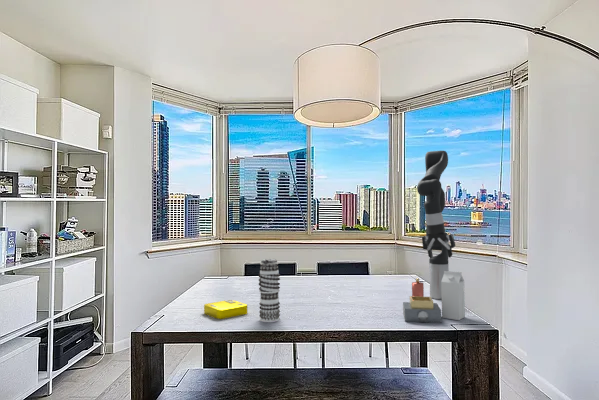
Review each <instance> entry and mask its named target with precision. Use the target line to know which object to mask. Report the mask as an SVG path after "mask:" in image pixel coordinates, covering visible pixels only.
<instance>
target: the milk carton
mask: <svg viewBox="0 0 599 400" xmlns="http://www.w3.org/2000/svg"><path fill="white" fill-rule="evenodd" d="M441 291H442V299H441V319H442V318H443V319H448V320H453V321H454V320H456V321H460V320H462V319H463V318H465V317H466V314H465V313H466V311H465V310H466V309H465V305H466V303H465V280H464V278H463V275H462V272H460V271H450V270H449V271H444V275H443V278H442V281H441Z"/></svg>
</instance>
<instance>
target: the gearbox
mask: <svg viewBox="0 0 599 400" xmlns="http://www.w3.org/2000/svg"><path fill="white" fill-rule="evenodd" d="M402 315H403V320H404V322H409V323H410V322H411V323H433V324H434V323H436V324H440V323H442V308H440V306H439V304H438V303H437V302H434V300H433V298H431V297H430V296H424V297H419V296H412V295H410V296H409V301H408V302H405V301H403V302H402Z"/></svg>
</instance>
